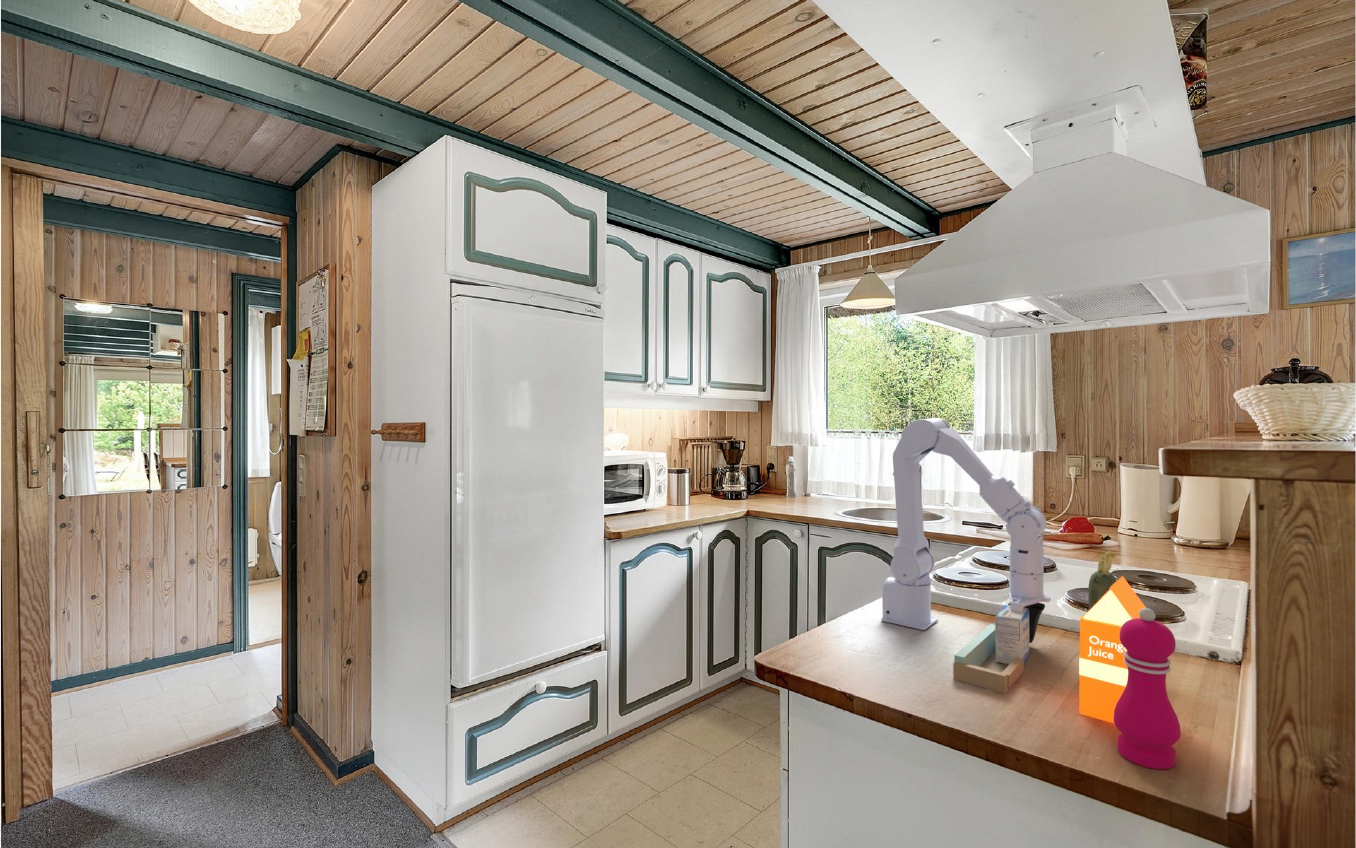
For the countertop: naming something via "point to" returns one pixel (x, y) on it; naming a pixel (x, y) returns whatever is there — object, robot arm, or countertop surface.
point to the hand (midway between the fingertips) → (1026, 641)
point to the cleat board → (977, 654)
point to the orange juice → (1105, 651)
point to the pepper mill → (1147, 694)
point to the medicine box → (1011, 635)
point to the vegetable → (1101, 579)
